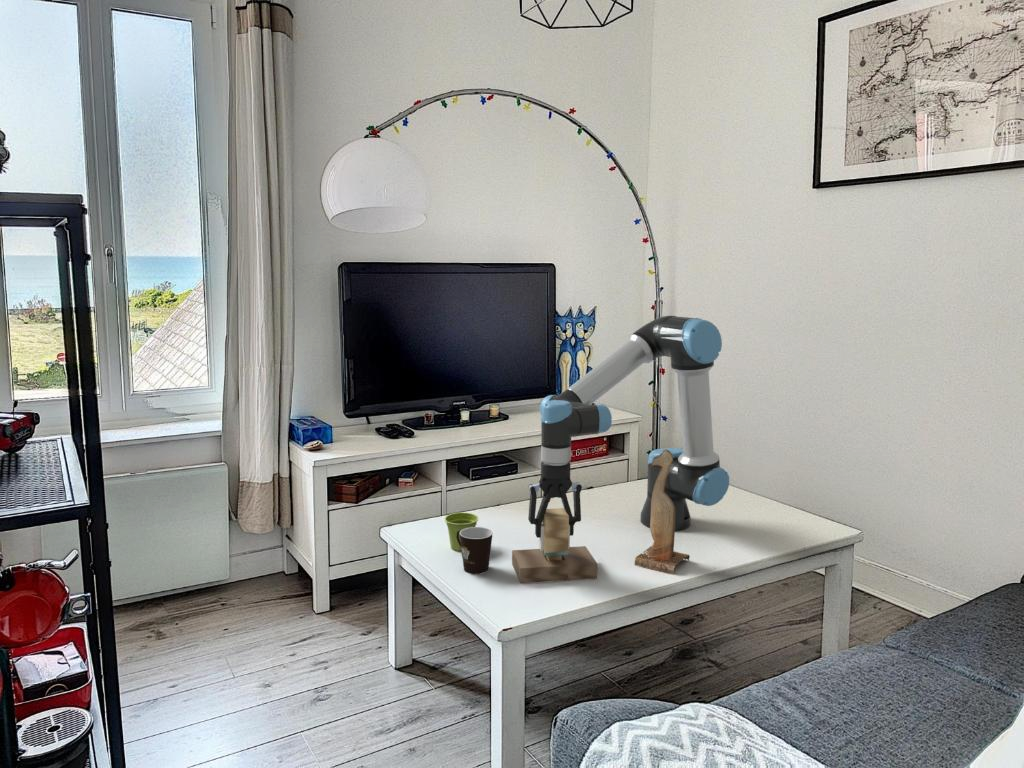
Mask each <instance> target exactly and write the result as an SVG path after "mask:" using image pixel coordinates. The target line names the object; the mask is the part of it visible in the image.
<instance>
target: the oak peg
mask: <svg viewBox="0 0 1024 768" xmlns="http://www.w3.org/2000/svg"><path fill="white" fill-rule="evenodd" d="M542 524H543V525H544V551H543V553H544V555H545V556H547V561H561V555H568V535H569V515H568V514H567V513H566V512H565V510H564V507H563V508H562V507H561V508H559V507H558V508H547V509H546V512H545V515H544V518H543V521H542Z"/></svg>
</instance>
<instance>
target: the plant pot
mask: <svg viewBox="0 0 1024 768" xmlns="http://www.w3.org/2000/svg"><path fill="white" fill-rule="evenodd" d="M478 521H479V516H478V515H477V514H475V513H472V512H453V513H450V514H448V515H446V516H445V517H444V522H445V524H446V526H447V530H448V531H447V532H448V536H449V538H448V539H449V544H450V549H452V550H453V551H457V552H462V550H461V547H460V545H459V543H458V541H457V537H456V535H457V532H458V531H461V530H463V529H465V528H470V527H477V523H478ZM459 540H460V534H459Z"/></svg>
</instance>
